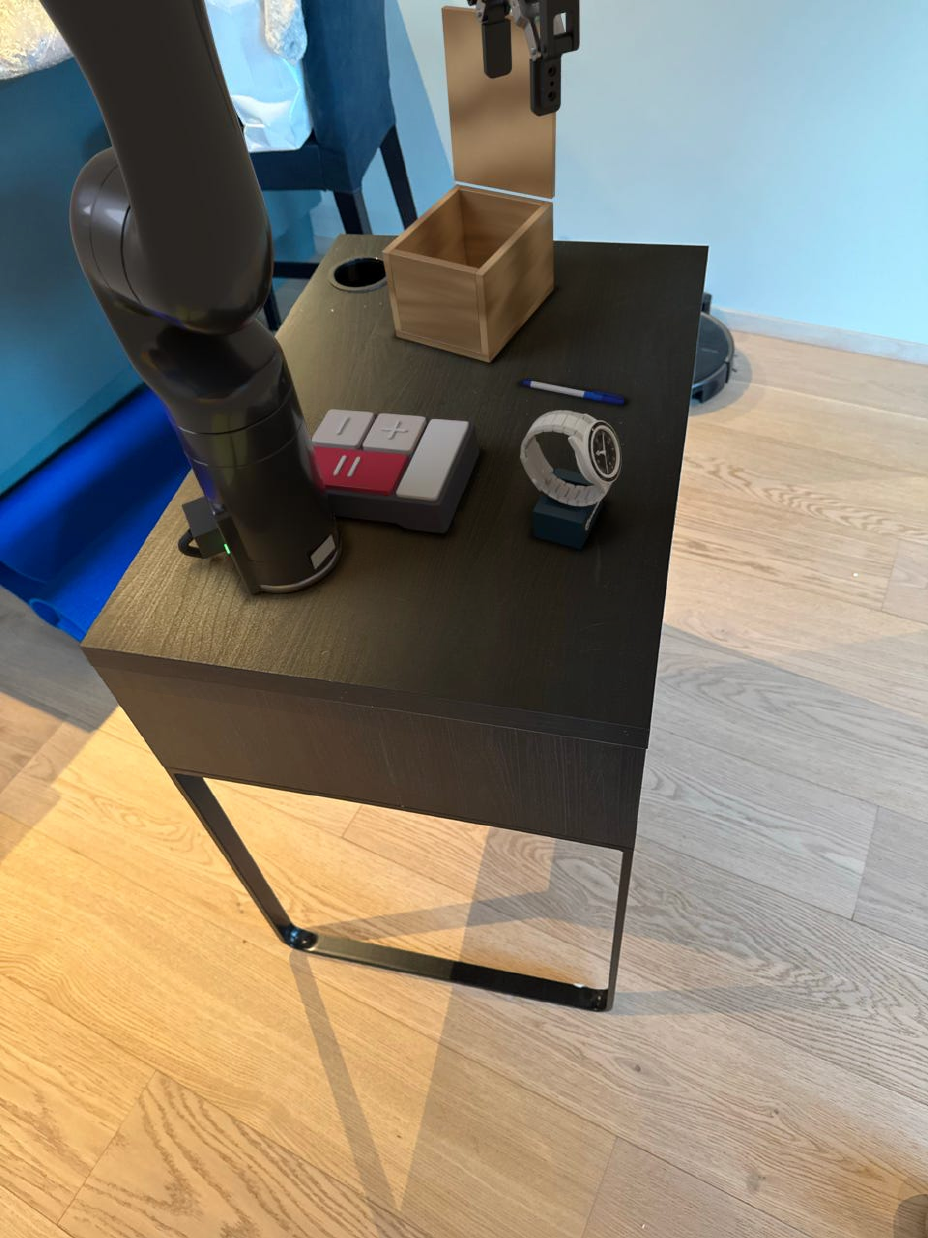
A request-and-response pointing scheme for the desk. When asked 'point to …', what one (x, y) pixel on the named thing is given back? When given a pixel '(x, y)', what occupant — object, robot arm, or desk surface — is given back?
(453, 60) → the chest lid
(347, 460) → the calculator
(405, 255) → the chest
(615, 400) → the ballpoint pen
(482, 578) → the desk surface
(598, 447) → the watch
